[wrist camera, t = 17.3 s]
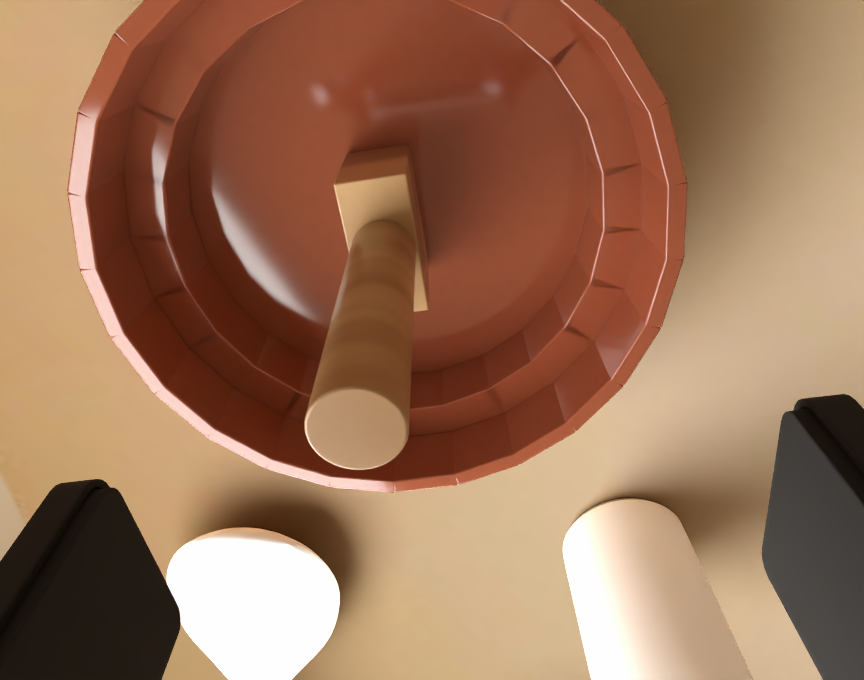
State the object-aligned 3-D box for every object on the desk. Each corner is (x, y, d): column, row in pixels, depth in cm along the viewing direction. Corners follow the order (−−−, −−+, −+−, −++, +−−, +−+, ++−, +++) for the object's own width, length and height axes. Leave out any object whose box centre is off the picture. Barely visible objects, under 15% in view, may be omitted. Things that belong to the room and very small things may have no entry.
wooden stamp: (345, 153, 25) (268, 335, 13) (409, 143, 25) (392, 318, 13) (371, 274, 27) (326, 523, 15) (428, 266, 27) (430, 512, 15)
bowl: (59, -28, 22) (-53, -26, 17) (635, -129, 21) (703, -159, 16) (227, 426, 32) (189, 517, 27) (633, 375, 30) (675, 460, 25)
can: (682, 571, 37) (783, 811, 26) (566, 587, 37) (620, 828, 27) (682, 484, 34) (796, 717, 23) (554, 503, 34) (611, 739, 24)
